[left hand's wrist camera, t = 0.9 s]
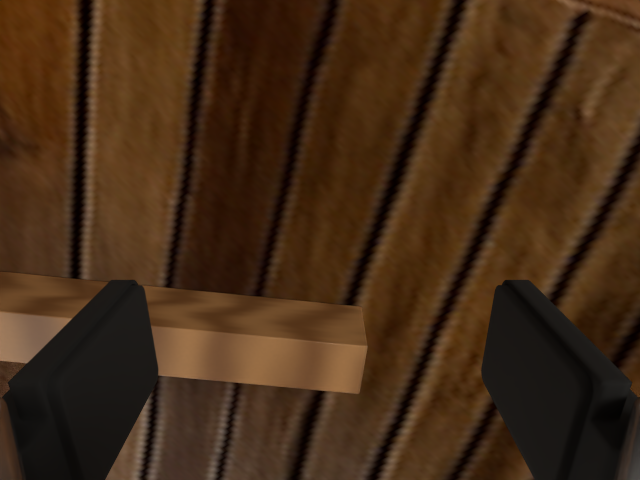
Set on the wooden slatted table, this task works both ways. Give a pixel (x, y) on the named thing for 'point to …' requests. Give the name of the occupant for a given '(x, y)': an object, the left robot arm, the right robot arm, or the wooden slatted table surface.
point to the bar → (203, 332)
